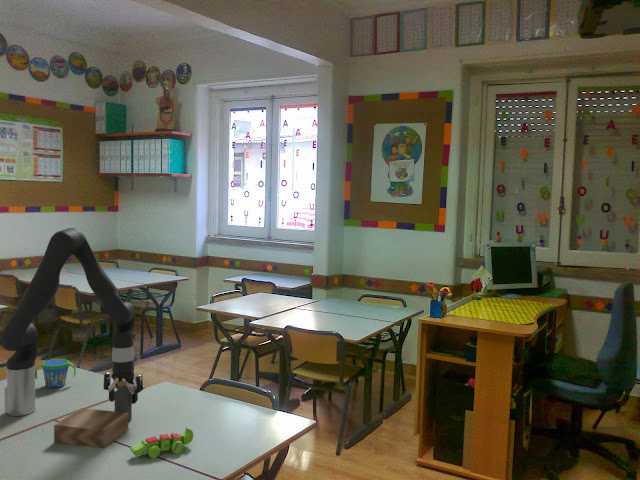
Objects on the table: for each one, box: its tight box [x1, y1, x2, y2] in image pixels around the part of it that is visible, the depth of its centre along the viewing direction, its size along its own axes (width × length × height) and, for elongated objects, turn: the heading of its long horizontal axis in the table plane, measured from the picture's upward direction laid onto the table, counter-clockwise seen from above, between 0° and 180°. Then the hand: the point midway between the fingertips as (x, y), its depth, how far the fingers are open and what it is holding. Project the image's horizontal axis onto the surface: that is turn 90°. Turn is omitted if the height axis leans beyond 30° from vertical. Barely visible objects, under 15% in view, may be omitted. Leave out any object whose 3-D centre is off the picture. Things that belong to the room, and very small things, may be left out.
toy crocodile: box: [129, 426, 194, 459], centre depth 176 cm, size 20×7×6 cm, turn 120°
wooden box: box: [53, 407, 129, 449], centre depth 186 cm, size 18×15×6 cm
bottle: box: [114, 381, 133, 423], centre depth 199 cm, size 6×6×15 cm
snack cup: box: [35, 358, 77, 389], centre depth 233 cm, size 16×10×10 cm
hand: (123, 402), depth 199 cm, fingers open, 8 cm apart
